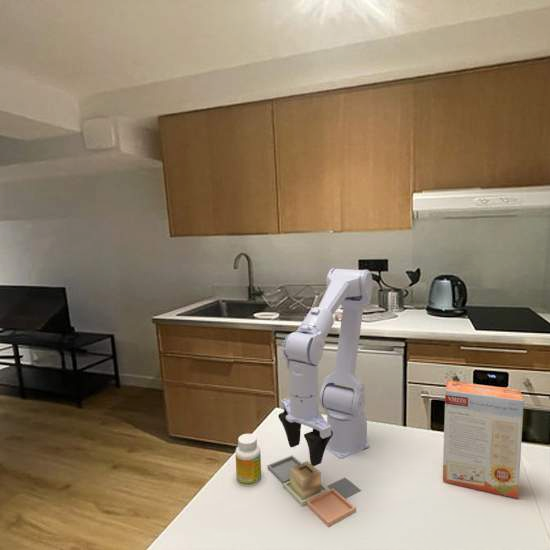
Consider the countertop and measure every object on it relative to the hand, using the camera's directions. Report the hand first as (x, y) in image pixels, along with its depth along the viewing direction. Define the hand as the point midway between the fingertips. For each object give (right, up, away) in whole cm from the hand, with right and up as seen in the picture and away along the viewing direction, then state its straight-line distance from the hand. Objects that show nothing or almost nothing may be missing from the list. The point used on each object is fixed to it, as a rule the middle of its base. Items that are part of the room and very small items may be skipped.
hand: (304, 454), depth 82 cm
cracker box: (+37, -7, +3) cm, 38 cm away
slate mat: (+8, -8, +1) cm, 12 cm away
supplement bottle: (-12, -8, +6) cm, 15 cm away
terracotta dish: (+5, -9, -4) cm, 11 cm away
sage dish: (0, -8, +1) cm, 8 cm away
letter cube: (0, -8, +1) cm, 8 cm away
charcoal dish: (-3, -7, +8) cm, 11 cm away
